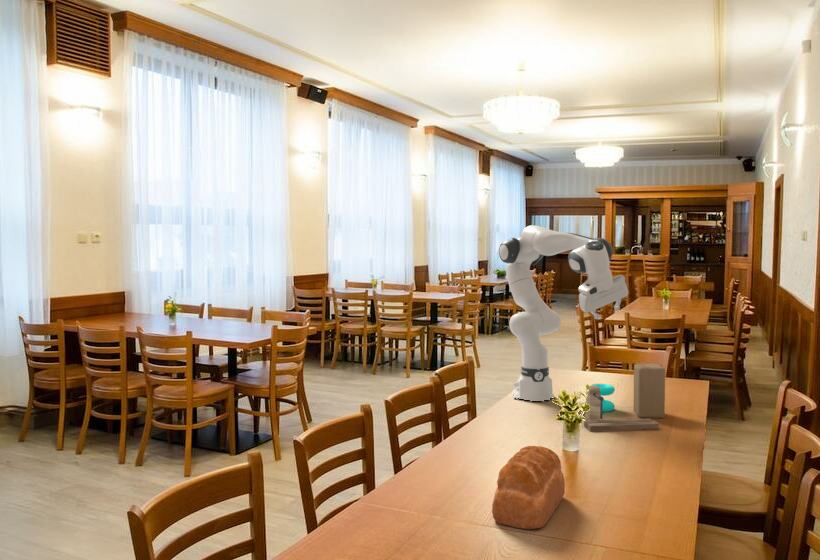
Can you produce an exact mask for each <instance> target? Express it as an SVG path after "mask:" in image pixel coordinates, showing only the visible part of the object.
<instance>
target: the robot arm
mask: <svg viewBox="0 0 820 560" xmlns="http://www.w3.org/2000/svg"><path fill="white" fill-rule="evenodd" d="M613 250H614V249H613V246H612V244H611V243H610V242H609V241H608V240H607V239H605V238H602V237H596V238H593V237H589V236H584V235H581V234H577V233H571V232H566V231H564V232H563V231H557V230H553V229H549V228H547V227H544V226H541V225H540V226H539V225H534V224H530V225H527V226H526V227H525V228H524V229H523V230H522V232H521V234H520V237H518V238H515V237H511V238H509V239H507V240H504V241H502V242H501V243H500V245H499V247H498V255H499V258H500V260H501V262H503V263H505V264H507V265H506V266H505V273H506V278H507V283H508V286H509V289H510V292H511V296H512V299H513V301H514V303H515V304H516V305H518V306H519V307H521V308H522V309H523V310H524V311H521V312H520V311H519V312H517V313H516V314H512V316H510V319H509V322H508V325H509V326H508V327H509V330H510V333H512V335H514V336H515V337H516V338H517V340H518V342H519V345H520V348H521V357H522V358H521V359H522V363H521V364H522V365H521V368H520V376H519V377H518V379H517V381H514V383H513V386H514V388H515V389H512V395H513V394H514V393H515V392H516V393H515V394H514V397H515V398H520V399H524V400H530V401H529V402H532V401H542V402H544V401H543V400H549V399H550V398H552V397H554V396H555V395H556V394H554V391H553V380H552V378H551V377H549V374H550V367H549V366H548V365H549V363H548V361H549V359H548V358H549V352H548V351H549V350H548V349H547V347H546V346H545V345H543V344H542V343H541V341H540V340H541V339H540V336H543V335H545V336H546V335H550V334H552V333H555V332H557V331H558V330H559V329H560V327H561V318H560V315H559V314H558V312H557V311H555V310H553V309H552V308H550V307H549V306H548V305H547V304H546V302H544V300H543V298H542V297H541V296H540V294H539V291H538V289H537V286H536V283H535V281H534V279H533V276H532V273H531V269H530V268H531V265H532V266H536V265H537V264H538V262H540V261H541V260H542V259H543V258H544V256H545V257H550V256H551V257H552V256H555V255H557V254H561V253H564V252H567V251H569V253H568V256H567V262H568V266H569V268H570V269H571V270H572V271H573V272H575V273H579V274H587V275H588V277H587V278H588V279H586V280H585V281H584V282H582V284H581V285H579V287H578V289H577V290H578V292H580V293H579V295H578V302H579V308H580V310H581V311H582V312H583V313H585V314H588V313H589V314H590V313H591V314H592V315H593V318H594V319H595V320H598V319H600V318H601V317H600V314H599V313H597V310H598V309H601V308H602V307H605V306H607V305H609V304H612V303H614V302H615V304H613V308H614V310H615V311H619V310H621V306H620V305H621V303H622V299H624V298H626V297H628V295H629V288H628V287H627V283H626V277H625V275H623V274H618V275H616V276H613V273H612V271H611V269H610V264H611V262H610V261H611V259H612V257H613ZM516 389H517V391H518V392H517V391H516ZM514 397H513V398H514ZM524 400H523V401H524ZM549 401H550V400H549Z"/></svg>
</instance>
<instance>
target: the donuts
mask: <svg viewBox="0 0 820 560" xmlns="http://www.w3.org/2000/svg"><path fill="white" fill-rule="evenodd" d="M590 386H598V387H600V396H602V397H603V396H610V395H613V394H614V393H615V391H616V388H615V387H614V386H613V385H611V384H608V383H594V384H591V385H590ZM614 409H615V403H614V402H612V401H611V400H608V399H604V400H603V411H602V413H604V412H605V413H607V412H612V411H614Z"/></svg>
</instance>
